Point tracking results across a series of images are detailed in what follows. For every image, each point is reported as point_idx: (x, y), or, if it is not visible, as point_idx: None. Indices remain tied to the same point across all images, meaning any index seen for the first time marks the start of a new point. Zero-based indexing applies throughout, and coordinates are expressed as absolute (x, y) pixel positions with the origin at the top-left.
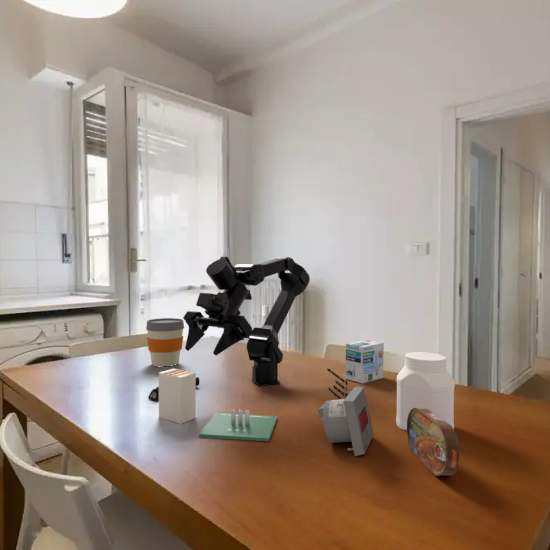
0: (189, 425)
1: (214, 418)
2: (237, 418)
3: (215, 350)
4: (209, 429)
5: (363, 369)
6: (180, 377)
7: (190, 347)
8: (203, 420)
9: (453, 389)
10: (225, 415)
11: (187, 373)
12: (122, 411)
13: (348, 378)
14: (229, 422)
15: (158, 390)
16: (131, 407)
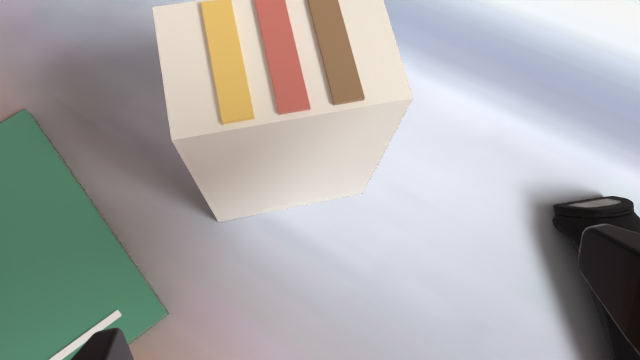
0: (163, 153)
1: (107, 258)
2: (11, 347)
3: (82, 352)
4: (23, 163)
5: None
6: (157, 7)
7: (611, 300)
8: (163, 230)
9: None
10: (93, 325)
11: (209, 92)
12: (505, 45)
13: None
14: (8, 281)
15: (604, 220)
16: (532, 90)
